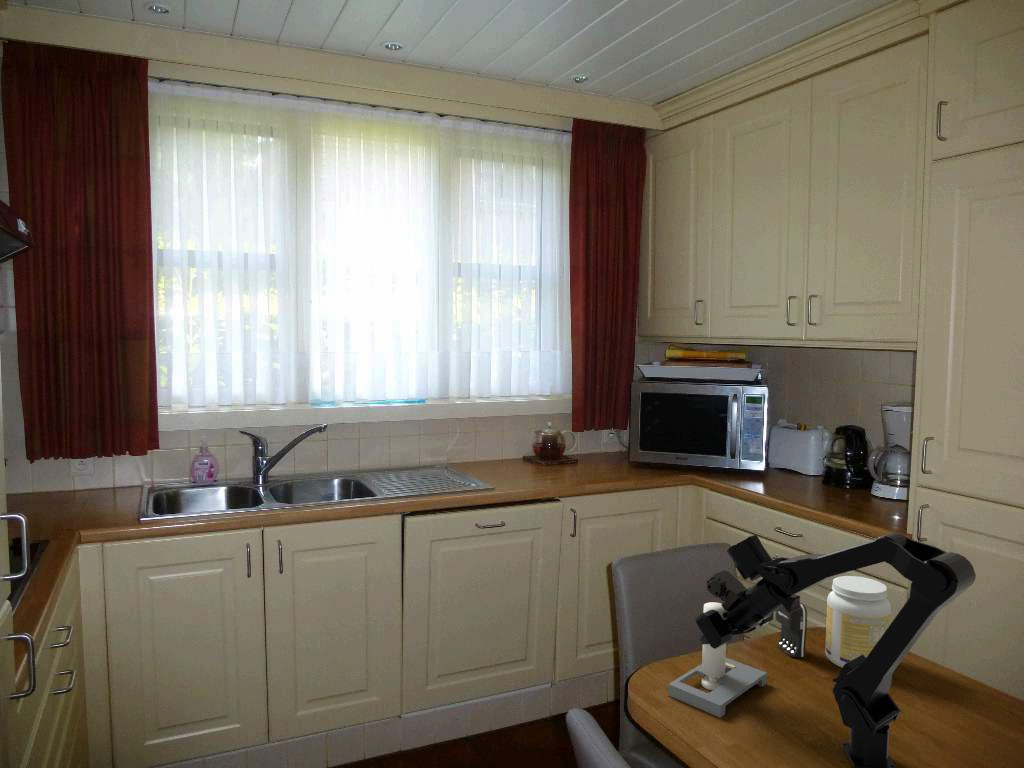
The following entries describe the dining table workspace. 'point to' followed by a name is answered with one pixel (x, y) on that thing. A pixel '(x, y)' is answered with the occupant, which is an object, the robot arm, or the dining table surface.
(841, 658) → the supplement tub
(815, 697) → the dining table surface
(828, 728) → the dining table surface
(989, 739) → the dining table surface
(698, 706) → the keyhole plate
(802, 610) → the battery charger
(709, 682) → the footed peg
